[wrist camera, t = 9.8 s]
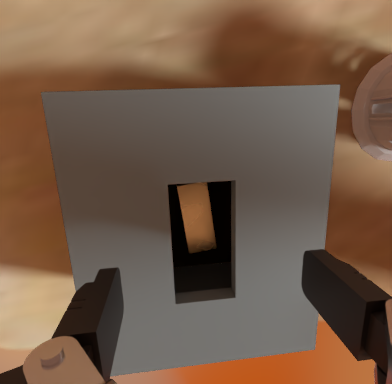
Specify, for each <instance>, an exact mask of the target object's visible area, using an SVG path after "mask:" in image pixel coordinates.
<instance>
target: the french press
mask: <svg viewBox="0 0 392 384" xmlns="http://www.w3.org/2000/svg"><path fill="white" fill-rule="evenodd" d="M351 114H352V128H353V133H354V135H355V137H356V139H357V141H358V143H359V145H360V147H361V148H362V149H363V150H364V151H366V152H367V153H368V154H370V155H371V156H372V157H374V158H375V159H379V160H386V161H392V54H389V55H388V56H386V57H385V58H384V59H382V60H381V61H380V62H378V63H377V64H376V65H374V66H373V67H372V68H371V69H370V70H369V72H368V73H367V75H366V76H365V77H364V79H363V80H362V82H361V83H360V85H359V86H358V88H357V91H356V95H355V99H354V102H353V106H352V109H351Z"/></svg>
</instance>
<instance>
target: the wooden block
mask: <svg viewBox="0 0 392 384" xmlns="http://www.w3.org/2000/svg"><path fill="white" fill-rule="evenodd" d="M176 185H177V190H178V196H179V201H180V207H181V212H182V218H183V223H184V229H185V234H186V239H187V245H188V250H189V254H190V253H195V252H200V251H205V250H210V249H215V248H217V247H216V241H215V234H214V227H213V221H212V214H211V207H210V200H209V194H208V187H207V182H201V183H185V184H176Z"/></svg>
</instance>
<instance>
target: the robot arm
mask: <svg viewBox="0 0 392 384" xmlns="http://www.w3.org/2000/svg"><path fill="white" fill-rule="evenodd" d="M301 285H302V290H303V293H304V295H305V296H306V298H307V299H308V300H309V302H310V303H311V304H312V305H313V306H314V308H315V309H316V310H317V311H318V313H319V314H320V315H321V316H322V317H323V319H324V320H325V321H326V322H327V324H328V325H329V326H330V327H331V329H332V330H333V331H334V332H335V333H336V334H337V336H338V337H339V338H340V340H341V341H342V342H343V343H344V345H345V346H346V347H347V348H348V349H349V351H350V352H351V353H352V354H353V356H354V357H355V358H356V359H357V361H361V360H368V359H373V360H374V361H375V368H374V378H375V384H392V297H391V296H390V295H389V294H387V293H386V292H385V291H383V290H382V289H381V288H379V287H378V286H377V285H375V284H374V283H373V282H372V281H370V280H367V278H366V277H365V276H364V275H362V274H361V273H359V272H358V271H357V270H356V269H355V268H353V267H352V266H351V265H349V264H347V263H345V262H342V261H340V260H338V259H336V258H334V257H333V256H332V255H331V254H329V253H328V252H327V251H326V250H324V249H318V250H307V251H305V252H304V255H303V266H302V280H301ZM123 313H124V300H123V292H122V284H121V276H120V270H119V268H118V267H116V268H105V269H99V271H98V273H97V275H96V278H95V280H94V282H88V283H85V284H84V285H83V286H82V287H80V288H79V289H78V290H77V291H76V293H75V295H74V296H73V298H72V300H71V303H70V304H69V306H68V308H67V311H66V312H65V314H64V315H63V317H62V319H61V321H60V323H59V325H58V327H57V329H56V331H55V333H54V334H53V336H52V338H51V339H50V340H48V341H46V342H44V343H42V344H40V345H39V346H38V347H36V348H35V349H34V350H33V351H32V352H31V353H30V354H29V355H28V357H27V358H26V360H25V362H24V364H23V365H22V366H20V367H17V368H15V369H12V370H10V371H6V372H4V373H1V374H0V384H117V383H116V382H115V381H114V380H113V379H110V375H111V370H112V365H113V361H114V356H115V351H116V347H117V342H118V337H119V333H120V328H121V323H122V319H123ZM109 379H110V380H109Z"/></svg>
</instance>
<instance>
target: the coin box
mask: <svg viewBox="0 0 392 384" xmlns="http://www.w3.org/2000/svg"><path fill="white" fill-rule="evenodd" d="M339 93H340V85H301V86H261V87H221V88H181V89H141V90H101V91H61V92H41V96H42V102H43V107H44V113H45V119H46V124H47V130H48V136H49V141H50V147H51V153H52V159H53V164H54V170H55V176H56V181H57V187H58V193H59V198H60V204H61V210H62V216H63V221H64V227H65V233H66V238H67V244H68V250H69V255H70V261H71V267H72V273H73V278H74V284H75V290H76V291H77V290H78V289H79V288H80V287H82V286H83V285H84V284H85V283H88V282H94V280H95V278H96V275H97V273H98V271H99V269H105V268H116V267H118V268H119V270H120V276H121V284H122V292H123V300H124V313H123V319H122V323H121V328H120V333H119V337H118V342H117V347H116V351H115V356H114V361H113V365H112V370H111V375H110V376H117V375H124V374H132V373H139V372H147V371H155V370H162V369H170V368H178V367H185V366H193V365H200V364H208V363H216V362H223V361H231V360H239V359H245V358H253V357H261V356H269V355H276V354H284V353H292V352H299V351H307V350H315V344H316V333H317V323H318V311H317V310H316V309H315V308H314V306H313V305H312V304H311V303H310V302H309V300H308V299H307V298H306V296H305V295H304V293H303V290H302V285H301V280H302V266H303V255H304V252H305V251H307V250H318V249H324V250H325V239H326V229H327V218H328V208H329V197H330V187H331V177H332V166H333V156H334V145H335V135H336V124H337V114H338V103H339ZM217 181H231V262H225V263H214V264H203V265H193V266H182V267H173V258H172V243H171V228H170V212H169V197H168V184H185V183H201V182H217Z"/></svg>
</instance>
